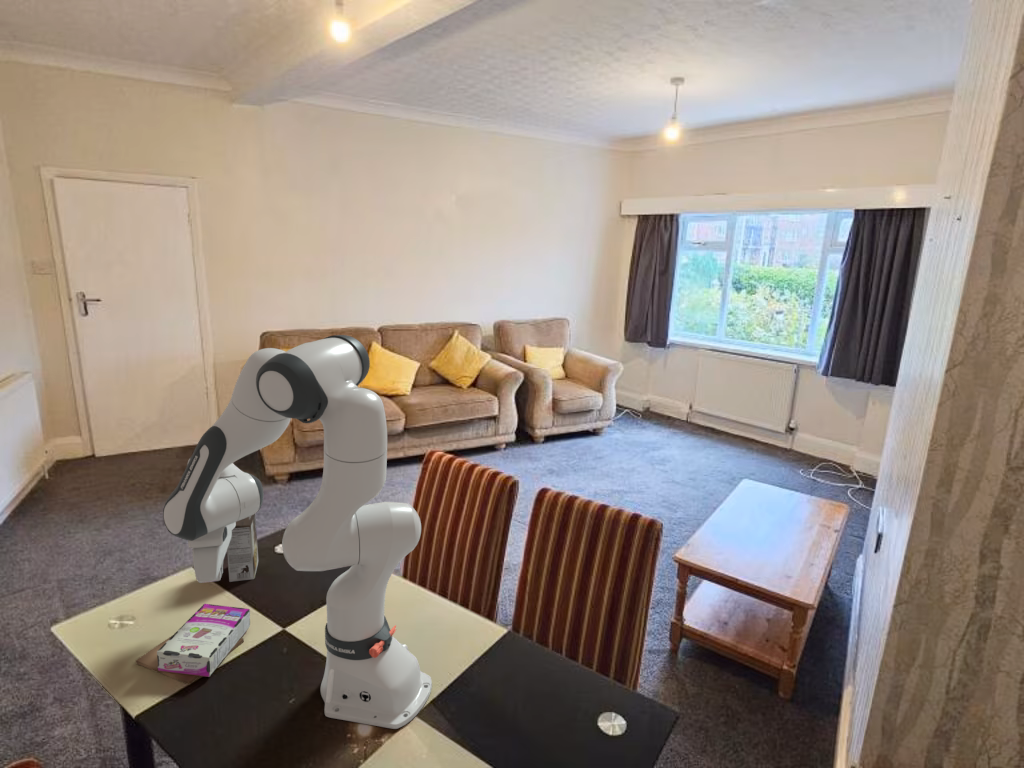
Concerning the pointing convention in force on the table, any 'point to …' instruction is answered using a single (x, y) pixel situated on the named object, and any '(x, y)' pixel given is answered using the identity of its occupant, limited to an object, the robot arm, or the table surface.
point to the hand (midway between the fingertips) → (217, 577)
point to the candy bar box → (204, 640)
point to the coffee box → (243, 550)
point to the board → (151, 663)
